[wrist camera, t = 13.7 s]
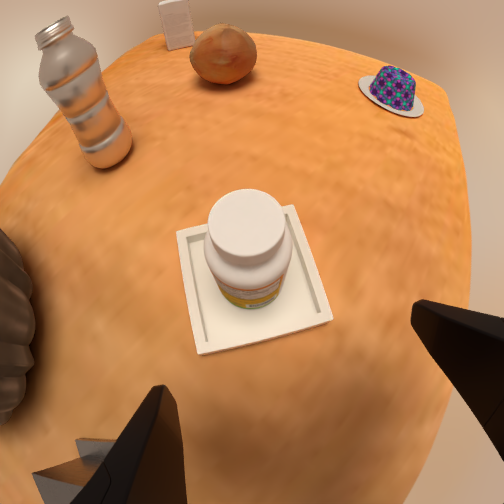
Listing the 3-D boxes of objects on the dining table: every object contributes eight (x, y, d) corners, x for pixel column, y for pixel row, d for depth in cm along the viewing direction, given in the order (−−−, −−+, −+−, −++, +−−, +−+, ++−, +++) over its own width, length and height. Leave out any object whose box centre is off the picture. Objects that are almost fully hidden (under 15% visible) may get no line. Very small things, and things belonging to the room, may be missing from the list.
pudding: (426, 130, 32) (439, 106, 28) (355, 102, 34) (363, 75, 29) (418, 94, 37) (426, 73, 32) (358, 72, 39) (364, 49, 34)
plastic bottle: (146, 139, 31) (97, 1, 13) (117, 179, 28) (41, 35, 10) (111, 135, 32) (59, 17, 14) (83, 172, 29) (11, 52, 11)
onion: (185, 79, 37) (175, 28, 28) (238, 61, 39) (235, 13, 30) (210, 102, 34) (201, 41, 24) (269, 82, 36) (271, 26, 26)
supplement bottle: (238, 239, 24) (228, 164, 15) (294, 266, 23) (316, 202, 14) (206, 291, 22) (172, 239, 13) (263, 322, 21) (268, 290, 12)
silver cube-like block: (196, 526, 14) (170, 580, 5) (112, 520, 13) (67, 554, 5) (162, 438, 18) (111, 470, 9) (80, 438, 17) (17, 452, 9)
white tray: (328, 322, 22) (333, 319, 20) (202, 355, 21) (197, 354, 19) (291, 214, 26) (293, 204, 24) (181, 240, 25) (176, 231, 23)
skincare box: (195, 39, 45) (188, -5, 34) (196, 45, 43) (188, -2, 32) (168, 45, 45) (159, 1, 34) (167, 51, 43) (157, 5, 32)
